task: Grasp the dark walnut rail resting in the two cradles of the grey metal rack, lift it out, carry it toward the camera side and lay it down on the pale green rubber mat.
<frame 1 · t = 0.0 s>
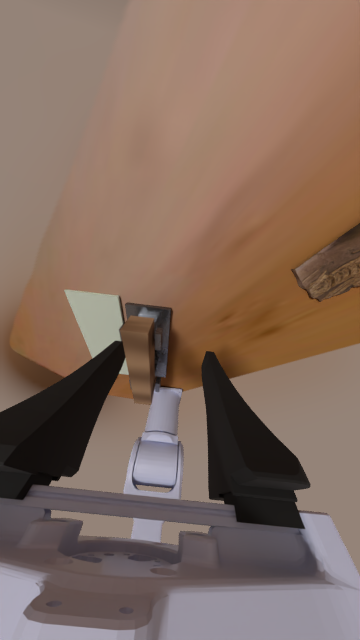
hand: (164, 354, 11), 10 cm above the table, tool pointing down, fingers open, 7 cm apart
rack: (150, 346, 25), on the table
rail: (145, 360, 22), point 3 cm above the table, touching rack
mat: (106, 340, 25), on the table
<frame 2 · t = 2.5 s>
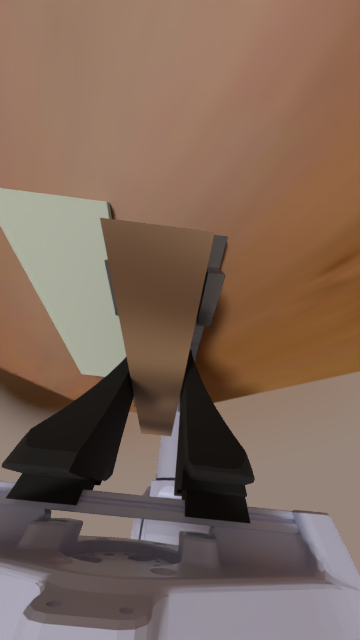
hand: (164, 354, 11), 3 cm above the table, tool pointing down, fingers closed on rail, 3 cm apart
rack: (169, 330, 14), on the table
rail: (164, 354, 11), point 3 cm above the table, touching gripper, rack
mat: (91, 320, 14), on the table
when the fingers open (2 cm above the table, at t = 6.1 s): rail stays where it is, resting on mat.
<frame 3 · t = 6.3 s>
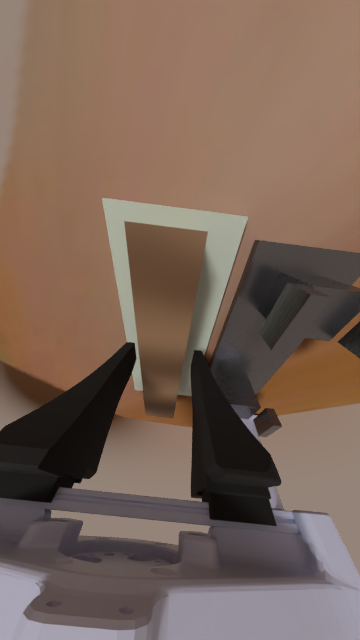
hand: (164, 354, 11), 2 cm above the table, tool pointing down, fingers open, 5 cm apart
rack: (250, 348, 13), on the table
rail: (167, 341, 13), resting on mat
mat: (167, 338, 13), on the table
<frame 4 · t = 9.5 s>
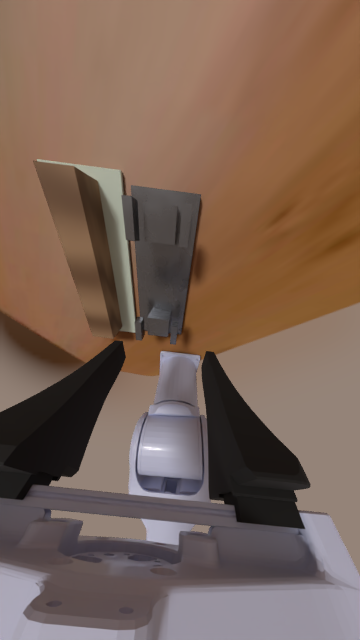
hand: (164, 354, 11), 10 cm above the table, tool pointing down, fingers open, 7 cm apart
rack: (163, 279, 18), on the table
rail: (101, 272, 18), resting on mat
mat: (103, 271, 18), on the table
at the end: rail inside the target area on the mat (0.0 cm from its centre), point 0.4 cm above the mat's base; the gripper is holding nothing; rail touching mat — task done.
